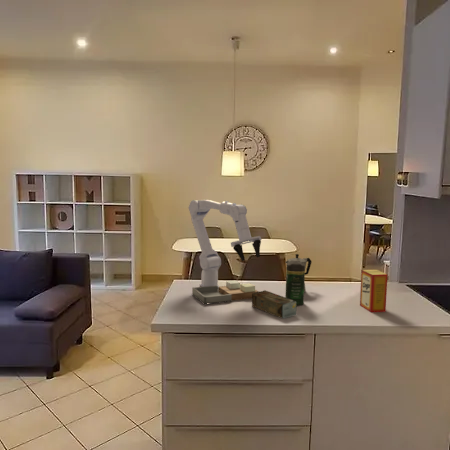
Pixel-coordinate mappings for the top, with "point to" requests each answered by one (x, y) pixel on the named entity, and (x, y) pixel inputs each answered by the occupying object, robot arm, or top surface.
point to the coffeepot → (303, 263)
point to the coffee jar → (295, 281)
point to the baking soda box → (373, 290)
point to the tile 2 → (247, 287)
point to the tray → (210, 294)
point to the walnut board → (236, 293)
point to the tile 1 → (233, 284)
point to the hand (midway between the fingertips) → (250, 258)
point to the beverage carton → (274, 304)
